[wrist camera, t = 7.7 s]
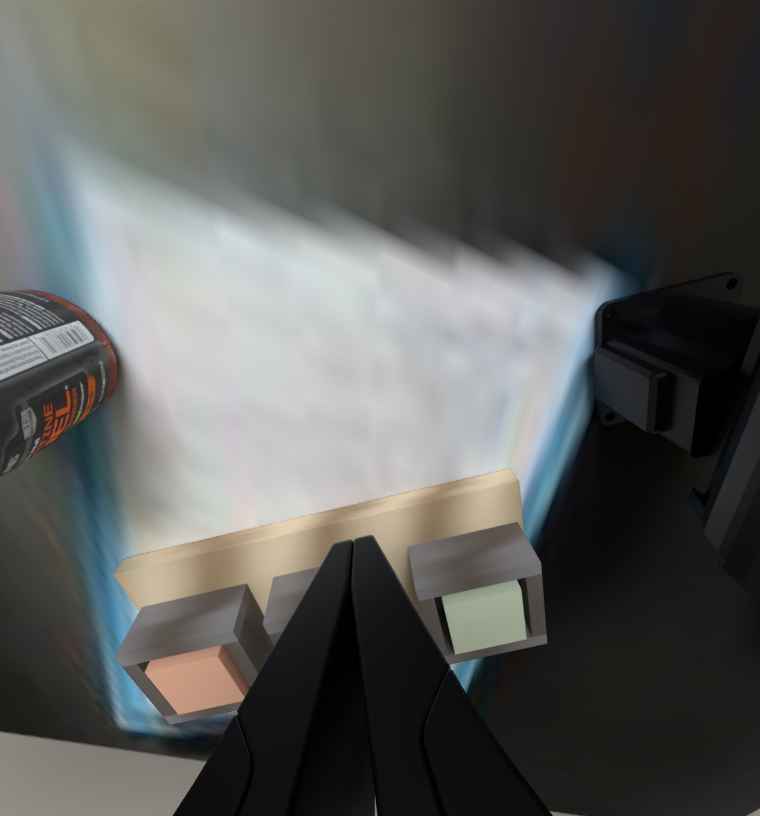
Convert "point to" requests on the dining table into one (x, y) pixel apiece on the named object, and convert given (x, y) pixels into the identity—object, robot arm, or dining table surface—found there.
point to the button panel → (299, 562)
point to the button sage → (485, 616)
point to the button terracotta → (198, 679)
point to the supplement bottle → (48, 371)
